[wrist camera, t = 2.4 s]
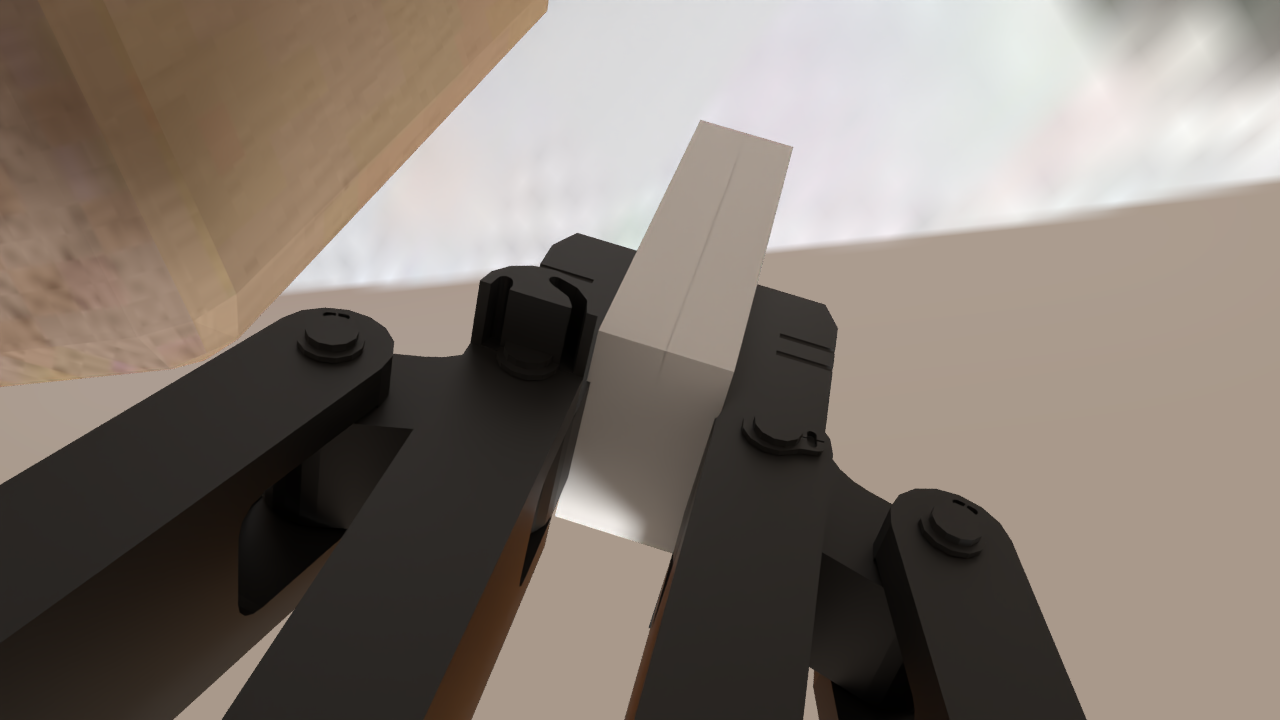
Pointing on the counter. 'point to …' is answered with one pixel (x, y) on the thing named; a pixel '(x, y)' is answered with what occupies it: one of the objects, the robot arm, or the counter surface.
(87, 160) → the wooden block
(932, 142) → the counter surface
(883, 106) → the counter surface
